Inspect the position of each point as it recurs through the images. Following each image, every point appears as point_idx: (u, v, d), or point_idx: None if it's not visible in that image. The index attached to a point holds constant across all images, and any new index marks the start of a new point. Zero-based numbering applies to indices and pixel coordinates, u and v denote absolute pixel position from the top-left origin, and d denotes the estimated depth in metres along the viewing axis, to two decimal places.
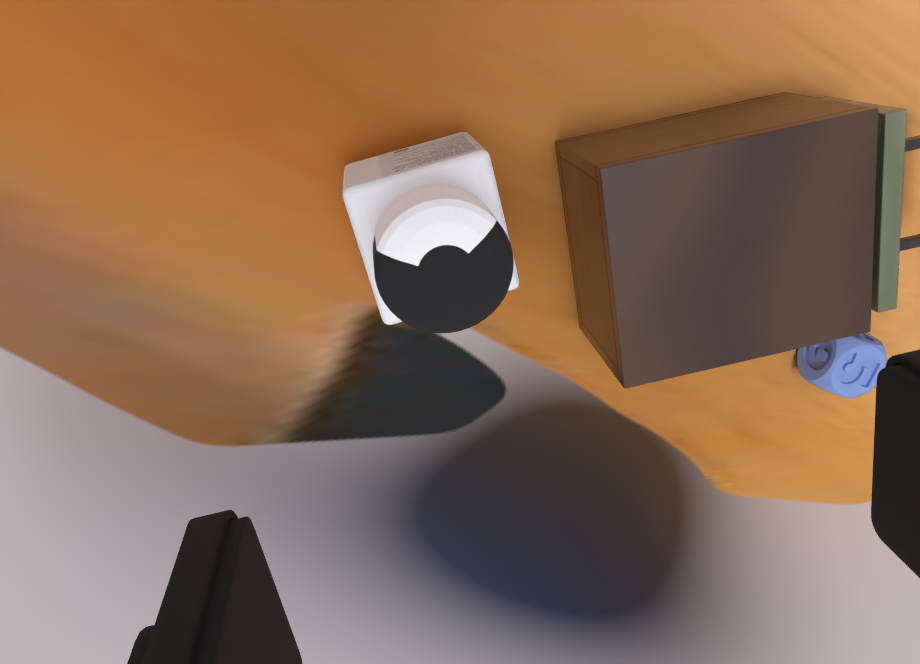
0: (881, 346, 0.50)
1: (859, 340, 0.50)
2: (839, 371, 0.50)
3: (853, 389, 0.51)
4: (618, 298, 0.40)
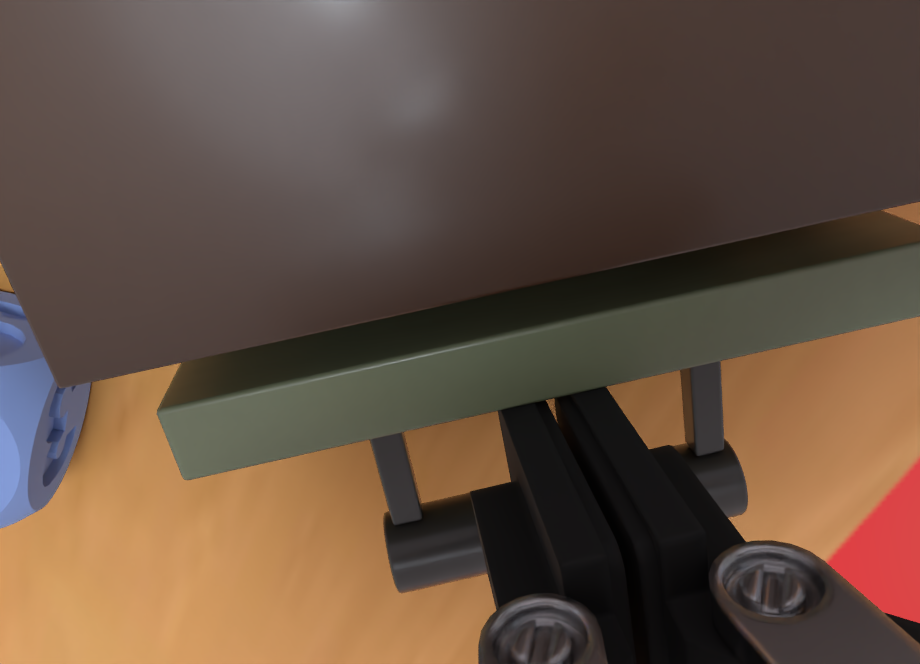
0: (25, 506, 0.16)
1: (34, 434, 0.15)
2: None
3: None
4: None
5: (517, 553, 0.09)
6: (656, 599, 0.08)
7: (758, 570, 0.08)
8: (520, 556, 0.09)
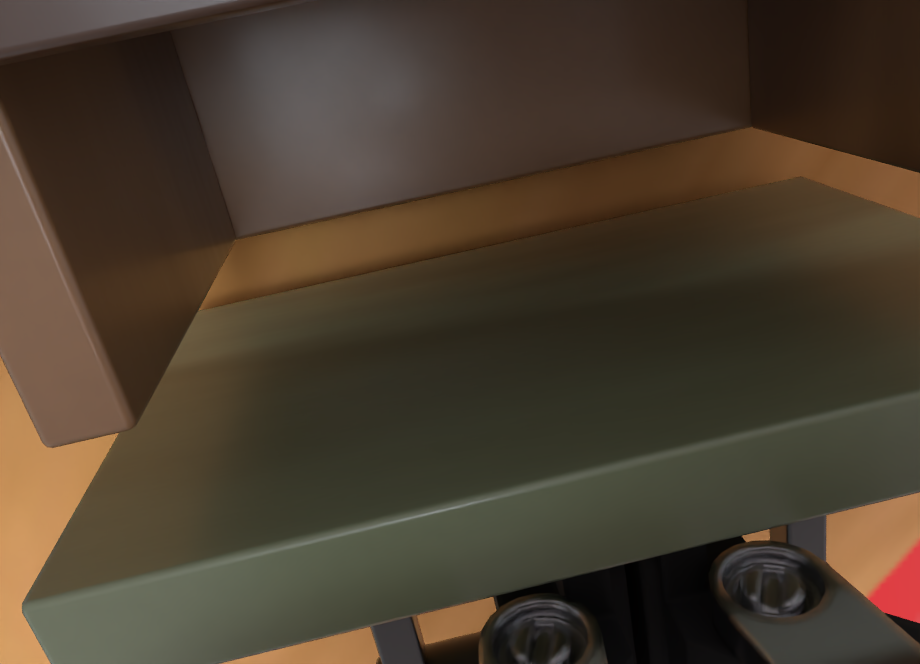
0: None
1: None
2: None
3: None
4: None
5: None
6: (656, 599, 0.08)
7: (758, 570, 0.08)
8: None
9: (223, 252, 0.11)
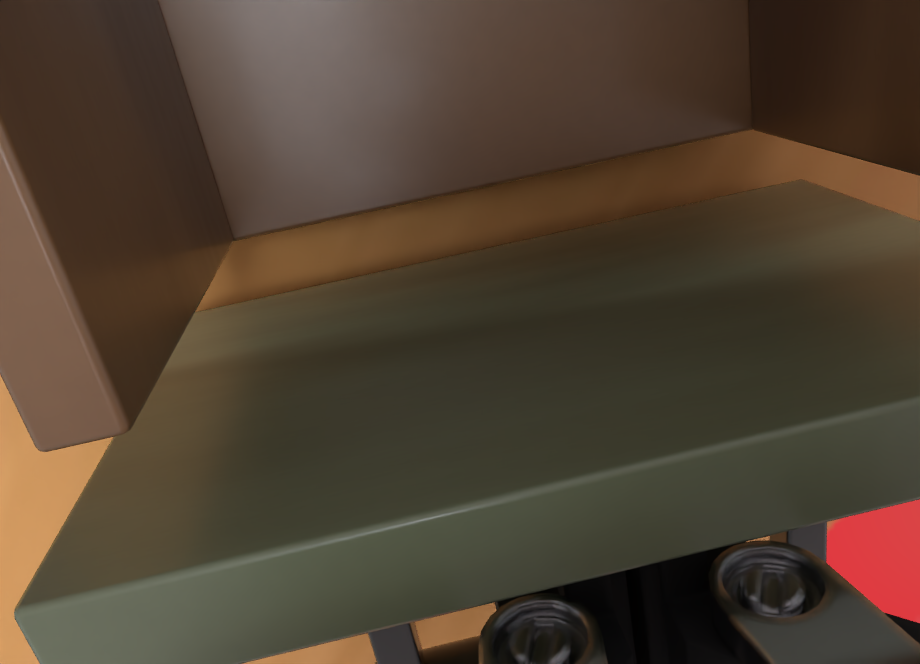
0: None
1: None
2: None
3: None
4: None
5: None
6: (656, 599, 0.08)
7: (758, 570, 0.08)
8: None
9: (220, 253, 0.11)
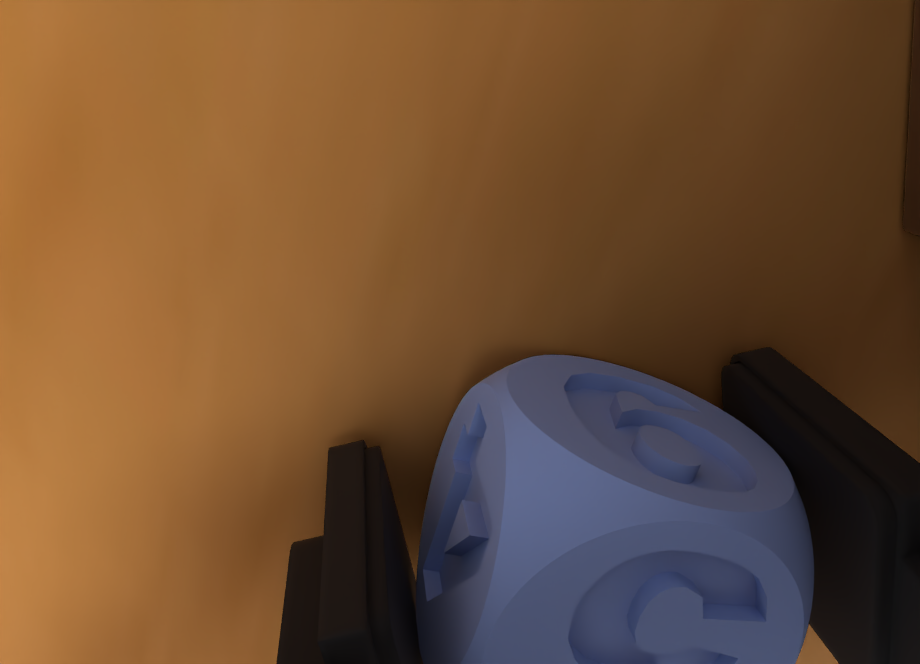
0: None
1: None
2: (644, 561, 0.08)
3: None
4: None
5: (313, 614, 0.09)
6: (890, 558, 0.08)
7: None
8: (315, 618, 0.09)
9: None
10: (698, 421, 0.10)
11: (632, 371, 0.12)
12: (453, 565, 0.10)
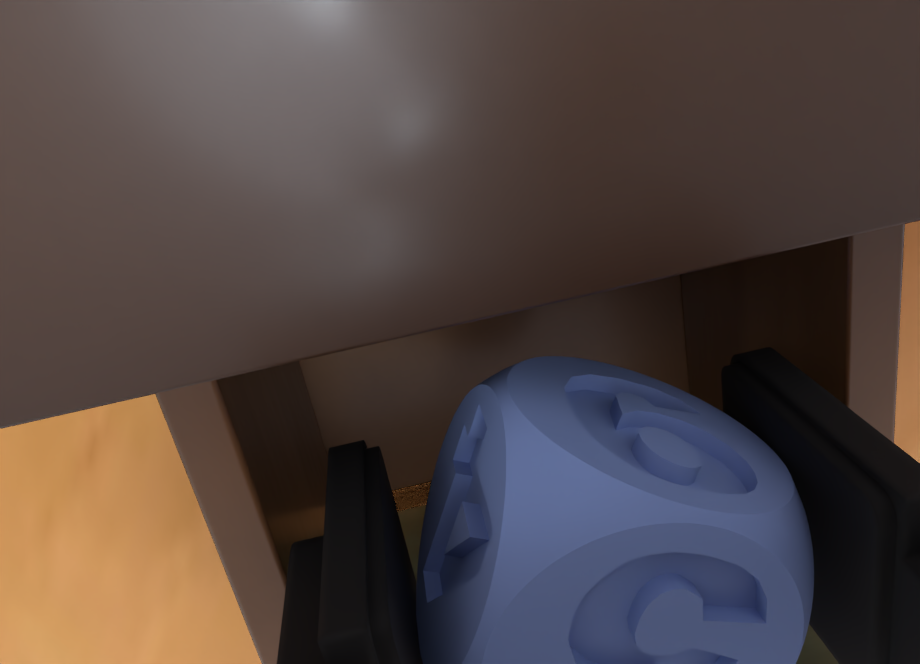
0: None
1: None
2: (644, 562, 0.08)
3: None
4: None
5: (313, 614, 0.09)
6: (890, 557, 0.08)
7: None
8: (315, 618, 0.09)
9: None
10: (698, 423, 0.10)
11: (632, 373, 0.12)
12: (454, 567, 0.10)
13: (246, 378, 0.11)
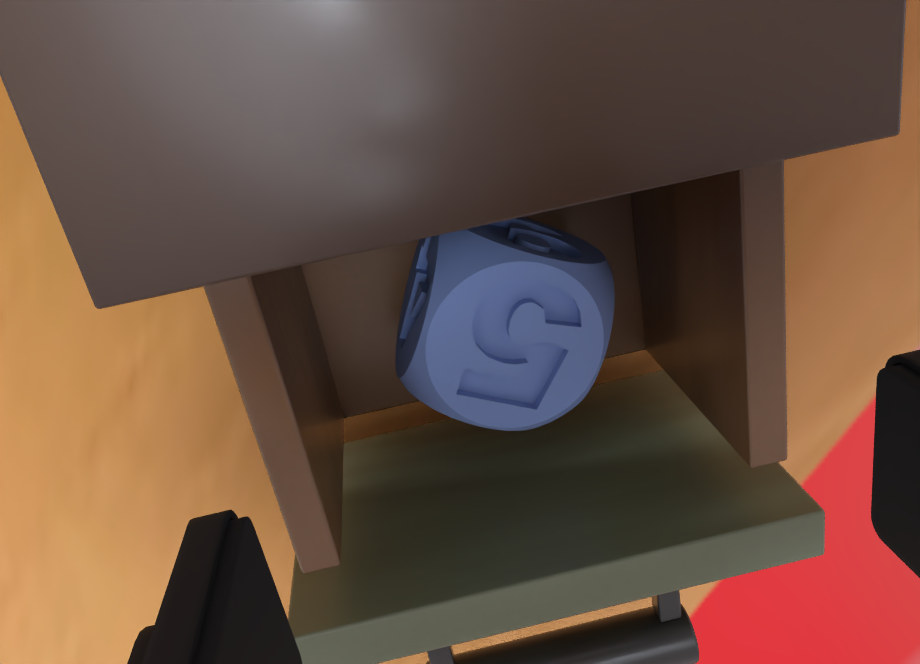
0: (580, 401, 0.17)
1: None
2: (513, 291, 0.16)
3: (452, 348, 0.16)
4: None
5: None
6: None
7: None
8: None
9: (343, 435, 0.19)
10: (559, 238, 0.17)
11: (527, 220, 0.19)
12: None
13: (269, 282, 0.14)
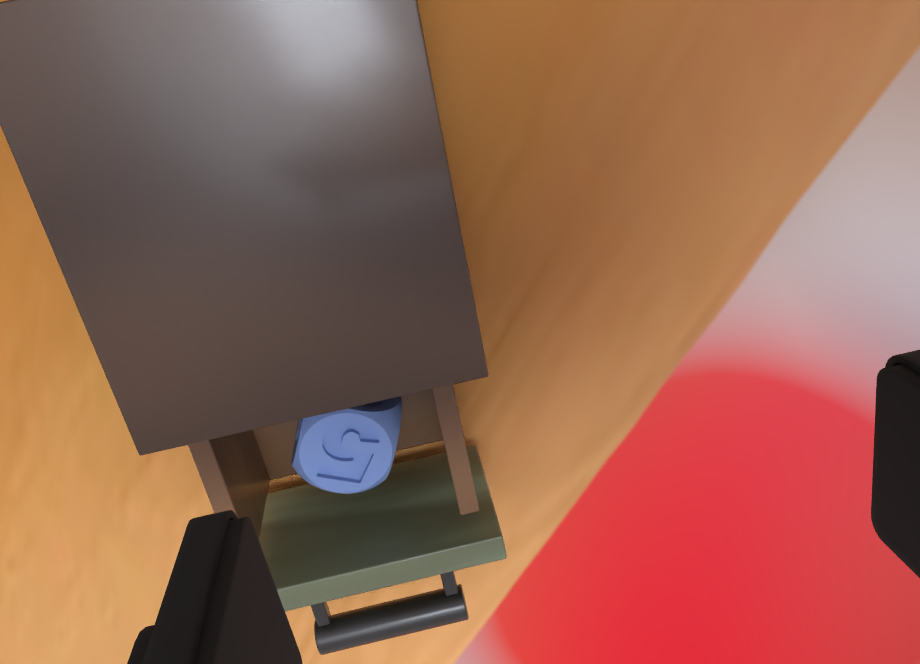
0: (385, 477, 0.32)
1: (396, 442, 0.31)
2: (343, 425, 0.31)
3: (313, 454, 0.31)
4: None
5: None
6: None
7: None
8: None
9: (266, 491, 0.34)
10: None
11: None
12: None
13: None
